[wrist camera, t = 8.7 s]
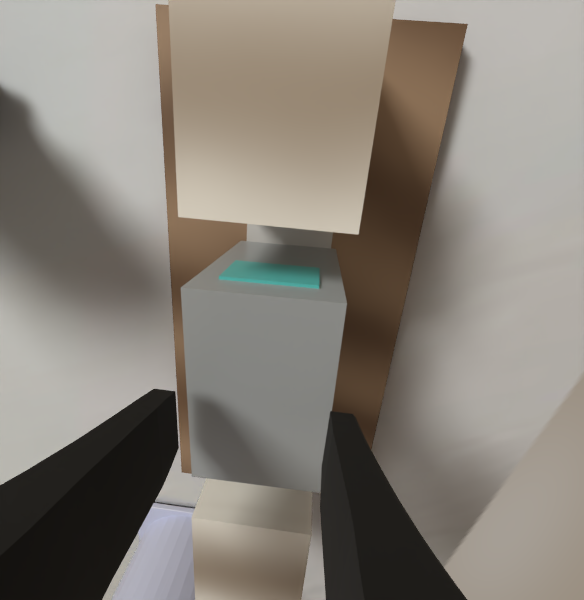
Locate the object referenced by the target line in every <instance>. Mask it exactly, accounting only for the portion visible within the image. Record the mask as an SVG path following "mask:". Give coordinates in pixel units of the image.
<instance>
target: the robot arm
mask: <svg viewBox="0 0 584 600" xmlns="http://www.w3.org/2000/svg"><path fill="white" fill-rule="evenodd" d="M178 448H179V447H178V430H177V413H176V396H175V391H167V390H159V389H153V390H151V391H150V392H148V393H147V394H145V395H144V396H142V397H141V398H139V399H138V400H136V401H135V402H133V403H132V404H130V405H129V406H127V407H126V408H124V409H123V410H121V411H120V412H118V413H117V414H115V415H114V416H112V417H111V418H109V419H108V420H106V421H105V422H103V423H102V424H100V425H99V426H97V427H96V428H94V429H93V430H91V431H90V432H88V433H87V434H85V435H84V436H82V437H81V438H79V439H77V440H76V441H74V442H73V443H71V444H69V445H68V446H66V447H64V448H63V449H61V450H59V451H58V452H56V453H54V454H53V455H51V456H50V457H48V458H46V459H45V460H43V461H41V462H40V463H38V464H36V465H35V466H33V467H32V468H30V469H28V470H26V471H25V472H23V473H21V474H20V475H18V476H16V477H14V478H12V479H11V480H9V481H7V482H5V483H4V484H2V485H0V600H102V598H103V596H104V594H105V592H106V591H107V589H108V587H109V585H110V583H111V581H112V579H113V577H114V575H115V573H116V571H117V570H118V568H119V566H120V564H121V562H122V560H123V559H124V557H125V555H126V553H127V551H128V549H129V548H130V546H131V544H132V542H133V540H134V538H135V537H136V535H137V533H138V534H139V544H138V546H137V548H136V550H135V552H134V554H133V556H132V558H131V560H130V562H129V564H128V566H127V568H126V570H125V572H124V574H123V576H122V578H121V580H120V582H119V584H118V586H117V588H116V590H115V592H114V594H113V596H112V598H111V600H195V585H194V562H193V540H192V515H193V512H194V510H195V509H194V508H187V507H180V506H173V505H166V504H160V503H154V502H155V500H156V498H157V496H158V494H159V492H160V490H161V488H162V487H163V485H164V482H165V480H166V478H167V475H168V473H169V470H170V468H171V466H172V463H173V461H174V458H175V455H176V453H177V450H178ZM320 510H321V527H322V544H323V559H324V575H325V591H326V600H467V599H466V597H465V596H464V595H463V594H462V592H461V591H460V589H459V588H458V587H457V586H456V584H455V583H454V581H453V580H452V579H451V577H450V576H449V574H448V573H447V572H446V570H445V569H444V567H443V566H442V565H441V563H440V562H439V560H438V559H437V558H436V556H435V555H434V553H433V552H432V550H431V549H430V547H429V546H428V545H427V543H426V542H425V540H424V539H423V537H422V536H421V534H420V533H419V531H418V530H417V528H416V526H415V525H414V523H413V522H412V520H411V518H410V517H409V515H408V514H407V512H406V511H405V509H404V507H403V506H402V504H401V503H400V501H399V499H398V498H397V496H396V494H395V493H394V491H393V489H392V487H391V486H390V484H389V482H388V480H387V478H386V477H385V475H384V473H383V471H382V470H381V468H380V466H379V464H378V462H377V460H376V459H375V457H374V455H373V453H372V451H371V449H370V447H369V445H368V443H367V441H366V439H365V437H364V435H363V432H362V430H361V428H360V426H359V424H358V421H357V419H356V417H355V416H354V415H353V414H350V413H342V412H334V411H330V416H329V423H328V429H327V435H326V442H325V448H324V454H323V461H322V468H321V500H320Z"/></svg>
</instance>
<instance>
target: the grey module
mask: <svg viewBox="0 0 584 600" xmlns="http://www.w3.org/2000/svg"><path fill="white" fill-rule="evenodd" d="M181 302H182V318H183V335H184V352H185V369H186V386H187V403H188V420H189V436H190V453H191V470H192V476H193V477H201V478H208V479H216V480H224V481H231V482H239V483H247V484H255V485H262V486H270V487H278V488H286V489H293V490H301V491H309V492H317V493H320V491H321V468H322V461H323V454H324V448H325V442H326V435H327V429H328V423H329V416H330V411H332V406H333V399H334V392H335V385H336V378H337V371H338V364H339V357H340V350H341V343H342V336H343V329H344V322H345V314H346V307H347V301H346V296H345V291H344V286H343V281H342V276H341V271H340V266H339V262H338V257H337V252H336V249H330V248H319V247H307V246H296V245H284V244H273V243H261V242H250V241H240V242H239V243H238V244H236V245H235V246H234V247H232V248H231V249H230V250H229V251H227V252H226V253H225V254H223V255H222V256H221V257H220V258H218V259H217V260H216V261H214V262H213V263H212V264H211V265H209V266H208V267H207V268H205V269H204V270H203V271H202V272H200V273H199V274H198V275H196V276H195V277H194V278H192V279H191V280H190V281H189V282H187V283H186V284H185V285H183V286H182V287H181Z"/></svg>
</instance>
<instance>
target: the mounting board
mask: <svg viewBox="0 0 584 600" xmlns="http://www.w3.org/2000/svg"><path fill="white" fill-rule="evenodd" d="M168 1H169V5H159V4H156V21H157V39H158V57H159V75H160V92H161V110H162V128H163V146H164V163H165V181H166V199H167V217H168V235H169V252H170V270H171V288H172V306H173V323H174V341H175V359H176V377H177V395H178V412H179V430H180V448H181V466H182V472H184V473H191V474H192V470H191V453H190V436H189V420H188V403H187V386H186V369H185V352H184V335H183V318H182V302H181V287H182V286H183V285H185V284H186V283H187V282H189V281H190V280H191V279H192V278H194V277H195V276H196V275H198V274H199V273H200V272H202V271H203V270H204V269H205V268H207V267H208V266H209V265H211V264H212V263H213V262H214V261H216V260H217V259H218V258H220V257H221V256H222V255H223V254H225V253H226V252H227V251H229V250H230V249H231V248H232V247H234V246H235V245H236V244H238V243H239V242H240V241H250V242H261V243H273V244H284V245H296V246H307V247H319V248H330V249H336V252H337V257H338V262H339V266H340V271H341V276H342V281H343V286H344V291H345V296H346V301H347V307H346V314H345V322H344V329H343V336H342V343H341V350H340V357H339V364H338V371H337V378H336V385H335V392H334V399H333V406H332V411H334V412H342V413H350V414H353V415H354V416H355V417H356V419H357V421H358V424H359V426H360V428H361V430H362V432H363V435H364V437H365V439H366V441H367V443H368V445H369V447H370V449H371V448H372V444H373V439H374V435H375V431H376V426H377V422H378V417H379V413H380V409H381V404H382V400H383V395H384V391H385V386H386V382H387V378H388V373H389V369H390V364H391V360H392V356H393V351H394V347H395V342H396V338H397V334H398V329H399V325H400V320H401V316H402V311H403V307H404V303H405V298H406V294H407V289H408V285H409V281H410V276H411V272H412V267H413V263H414V258H415V254H416V250H417V245H418V241H419V236H420V232H421V228H422V223H423V219H424V214H425V210H426V206H427V201H428V197H429V192H430V188H431V183H432V179H433V175H434V170H435V166H436V161H437V157H438V153H439V148H440V144H441V139H442V135H443V130H444V126H445V122H446V117H447V113H448V108H449V104H450V100H451V95H452V91H453V86H454V82H455V78H456V73H457V69H458V64H459V60H460V55H461V51H462V47H463V42H464V38H465V33H466V29H467V25H468V24H459V23H443V22H427V21H412V20H396V19H393V13H394V6H395V0H168ZM311 526H312V492H309V491H301V490H293V489H286V488H278V487H270V486H262V485H255V484H247V483H239V482H231V481H224V480H216V479H208V478H206V481H205V484H204V486H203V489H202V491H201V494H200V497H199V499H198V502H197V504H196V507H195V510H194V512H193V515H192V540H193V562H194V585H195V600H301V597H302V590H303V584H304V578H305V571H306V565H307V559H308V552H309V546H310V540H311Z"/></svg>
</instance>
